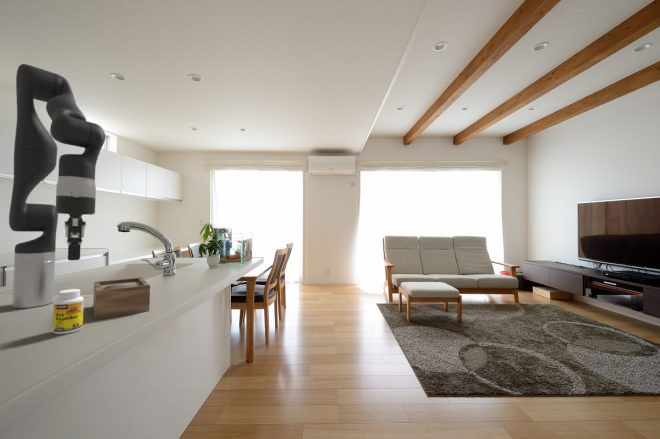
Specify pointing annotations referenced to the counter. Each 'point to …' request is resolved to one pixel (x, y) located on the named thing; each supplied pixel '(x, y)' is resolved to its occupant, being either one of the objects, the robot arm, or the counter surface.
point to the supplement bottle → (68, 312)
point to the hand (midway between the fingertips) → (74, 258)
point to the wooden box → (120, 297)
